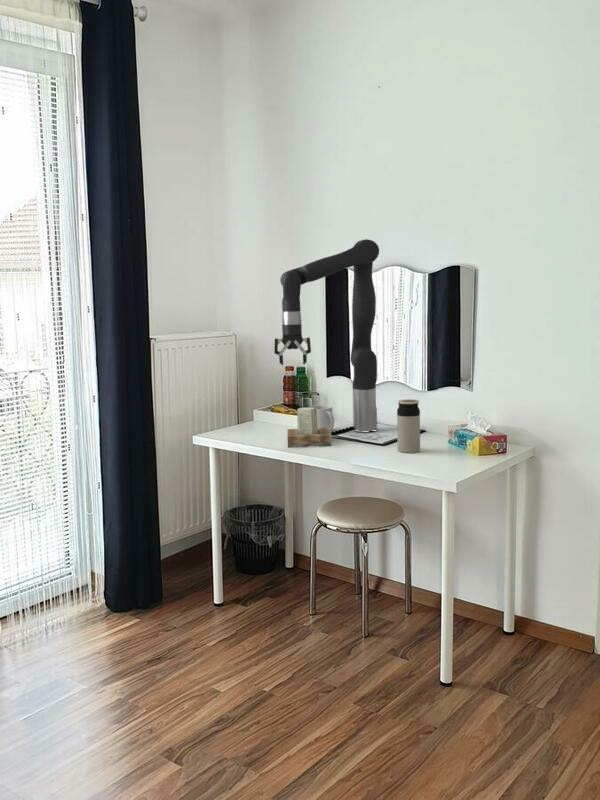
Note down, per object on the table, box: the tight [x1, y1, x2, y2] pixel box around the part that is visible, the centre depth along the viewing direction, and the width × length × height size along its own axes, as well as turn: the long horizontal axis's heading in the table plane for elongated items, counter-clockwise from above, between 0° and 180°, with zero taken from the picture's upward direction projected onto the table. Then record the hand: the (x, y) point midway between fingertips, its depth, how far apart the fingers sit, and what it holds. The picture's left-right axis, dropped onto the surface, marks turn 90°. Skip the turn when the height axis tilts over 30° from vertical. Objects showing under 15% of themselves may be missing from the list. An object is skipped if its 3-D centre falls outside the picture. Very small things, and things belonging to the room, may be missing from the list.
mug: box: [309, 404, 335, 434], centre depth 321 cm, size 11×10×10 cm
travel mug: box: [396, 398, 421, 454], centre depth 283 cm, size 8×8×18 cm
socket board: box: [286, 428, 332, 448], centre depth 303 cm, size 16×14×4 cm
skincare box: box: [296, 407, 318, 435], centre depth 302 cm, size 6×4×12 cm
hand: (293, 364), depth 313 cm, fingers open, 8 cm apart
